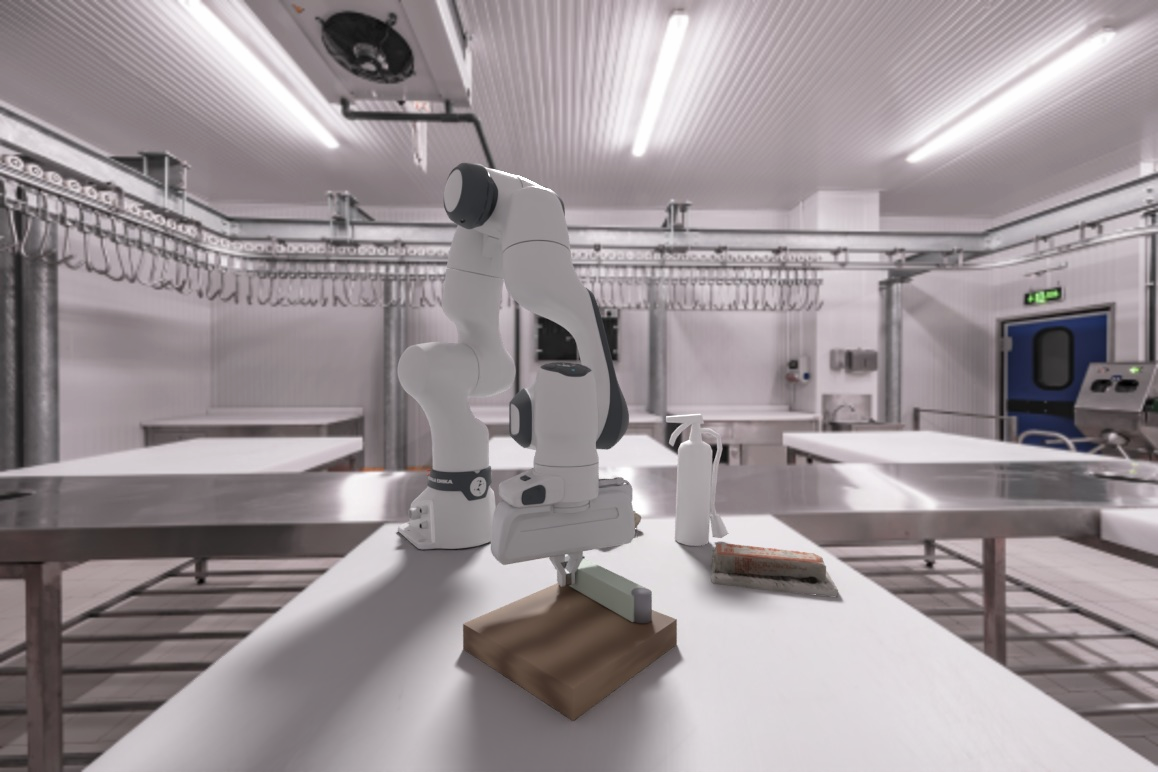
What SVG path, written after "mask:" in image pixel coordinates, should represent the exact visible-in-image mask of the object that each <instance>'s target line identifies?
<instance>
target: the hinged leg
mask: <svg viewBox="0 0 1158 772" xmlns="http://www.w3.org/2000/svg"><path fill="white" fill-rule="evenodd" d="M569 558H570V556H568V555H567V556H565V561H564V562H561V564H562V566H563V568H564V569H565V568H566V565H567V563H568V561H569ZM569 586H570V587H572V588H574V589H576V590H577V591H579V592H581V593H583V594H584V595H586V596H588V597H590V598H591V599H593V600H595V601H596V602H598V603H600V604H602V605H603V606H605V607H607V608H609V609H610V610H612V611H614V612H616V613H617V614H619V615H621V616H623V617H624V618H626V619H628V620H629V621H631V622H637V623H648V622H650V621H651V620H652V610H653V609H652V607H653V603H652V602H653V596H652V595H653V593H652V592H653V591H652V590H651V589H649V588H646V587H645V586H643V585H641V584H639V583H636V582H634V581H632V580H630V579H629V578H628V579H627V578H626V577H623V576H622V575H619V574H618V573H615V572H614V571H611V570H610V569H607V568H605V567H604V566H603V567H602V566H601V565H599V564H596V563H595V562H593V561H591V560H589V559H587V558H585V555H583V559H582V561H581V563H580V565H579V567H578V569H577V571H576V572H575V584H573V585H569Z"/></svg>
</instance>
